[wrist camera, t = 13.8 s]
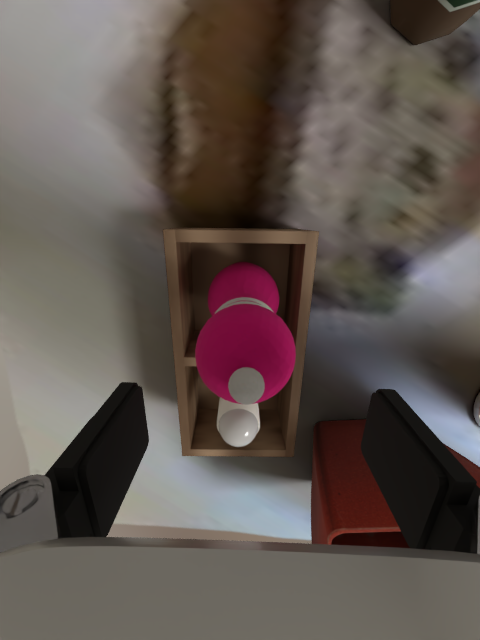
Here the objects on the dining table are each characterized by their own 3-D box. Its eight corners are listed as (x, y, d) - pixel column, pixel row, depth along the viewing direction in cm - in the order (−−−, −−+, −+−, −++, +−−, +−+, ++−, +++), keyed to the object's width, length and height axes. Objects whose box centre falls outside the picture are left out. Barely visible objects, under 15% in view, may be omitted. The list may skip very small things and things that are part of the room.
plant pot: (291, 403, 38) (329, 533, 22) (425, 395, 37) (563, 523, 21) (291, 495, 44) (320, 646, 29) (405, 490, 44) (497, 640, 28)
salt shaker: (255, 361, 34) (262, 421, 24) (254, 389, 36) (260, 458, 25) (222, 360, 34) (214, 421, 24) (222, 389, 35) (215, 457, 25)
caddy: (298, 229, 29) (318, 231, 22) (282, 410, 38) (293, 456, 30) (182, 227, 29) (162, 229, 22) (193, 409, 38) (182, 455, 30)
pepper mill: (227, 246, 29) (203, 294, 10) (284, 273, 30) (358, 364, 11) (202, 302, 31) (146, 426, 12) (256, 326, 32) (279, 473, 14)
